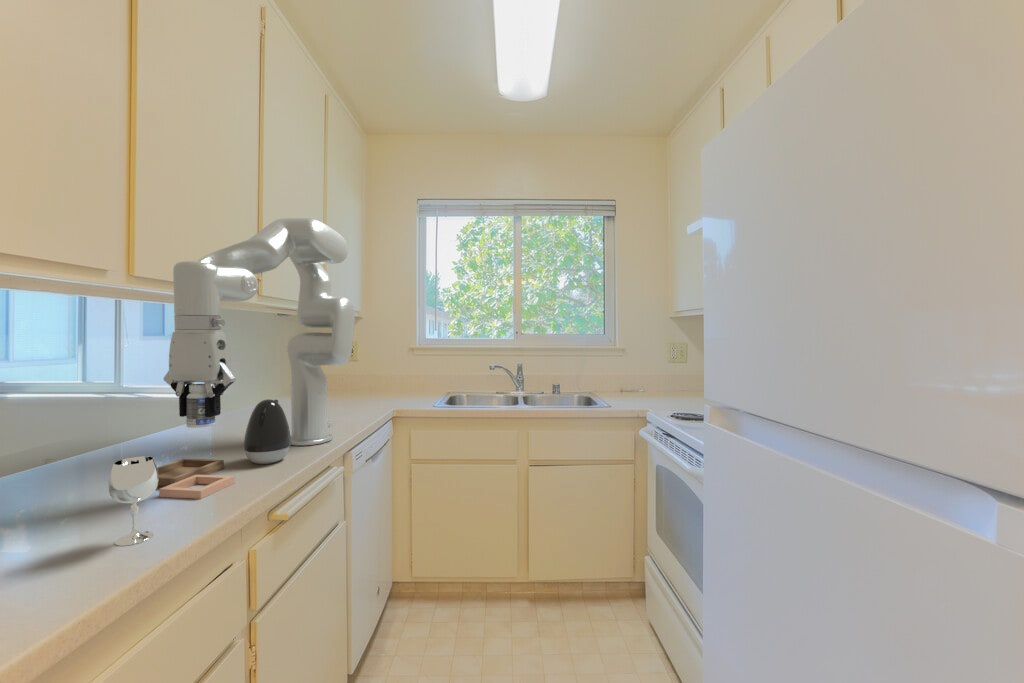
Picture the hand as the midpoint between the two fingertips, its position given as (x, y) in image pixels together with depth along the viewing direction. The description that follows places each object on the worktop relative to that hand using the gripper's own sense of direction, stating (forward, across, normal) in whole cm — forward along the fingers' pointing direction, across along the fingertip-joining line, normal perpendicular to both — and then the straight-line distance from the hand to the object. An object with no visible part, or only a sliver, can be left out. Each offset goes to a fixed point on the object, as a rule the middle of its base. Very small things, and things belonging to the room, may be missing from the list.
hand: (200, 414), depth 87 cm
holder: (+15, 0, +1) cm, 15 cm away
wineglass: (+15, -7, +21) cm, 26 cm away
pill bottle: (+2, 0, 0) cm, 2 cm away
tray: (+15, +10, -6) cm, 19 cm away
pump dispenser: (+16, -1, -19) cm, 25 cm away
